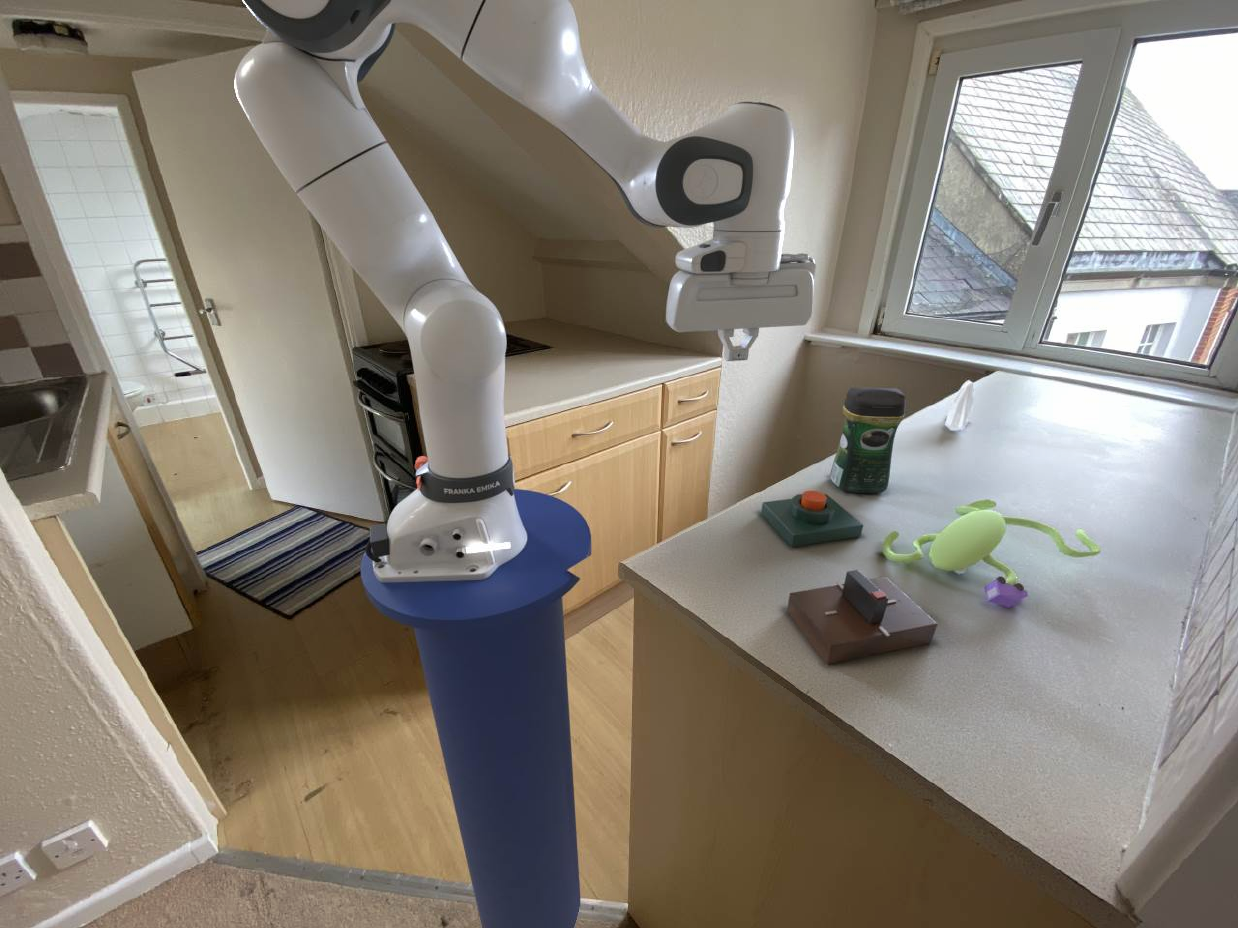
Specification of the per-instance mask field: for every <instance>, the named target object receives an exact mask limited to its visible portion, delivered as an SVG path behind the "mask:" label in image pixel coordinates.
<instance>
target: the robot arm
mask: <svg viewBox="0 0 1238 928" xmlns="http://www.w3.org/2000/svg"><path fill="white" fill-rule="evenodd" d="M241 1H242V3H243V4H244V5H245V7H246V8H247V9H248V11H250V13H251V14H252V15H253V16H254V18H256V20H257V21H259V22H260V24H261V25H262V26H263V27H264V28H265V29H266V33H265V35H264V38H263V39H262V41H261V43H260V44H257V45H256V46H254V47H253V48H250V50H249V51H248V52H247V53H246V54H245V55H244V56H243V57H242V59H241V60H240V62H239V64H238V66H237V68H236V70H235V75H234V84H233V85H234V90H235V94H236V98H237V100H238V101H239V104H240V106H241V108H242V110H243V111H244V113H245V115H246V118H247V119H248V121H249V123H250V125H251V127H252V128H253V130H254V133H256V135H257V137H258V139H259V141H260V142H261V143H262V145H263V147H264V148H265V150H266V152H267V153H268V155H269V156H270V158H271V159H272V161H273V162H274V164H275V166H276V167H277V168H278V170H279V172H280V173H281V175H282V176H283V178H284V179H285V180H286V181H287V183H288V184H289V186H290V187H291V189H293V191H294V193H297V194H296V195H297V196H298V197H299V200H300V201H301V202H302V203H303V204H304V206H305V207H306V208H307V209H308V211H309V212H310V213H311V215H312V217H314V219H315V220H316V222H317V223H318V224H319V226H320V227H321V228H322V229H323V231H324V232H325V234H326V235H327V236H328V237H329V239H330V240H331V241H332V243H333V244H334V246H335V247H336V248H337V249H338V251H339V252H340V254H341V255H342V256H343V257H344V258H345V260H346V262H347V263H348V264H349V265H350V267H352V269H353V270H354V271H355V272H356V274H357V275H358V276H359V277H360V278H361V279H362V281H364V283H365V284H366V285H367V287H368V288H369V289H370V290H371V292H372V293H373V294H374V296H375V297H376V298H377V299H378V300H379V301H380V303H381V304H382V305H383V307H385V310H387V311H388V313H389V314H390V315H391V317H392V318H393V319H394V321H396V323H397V324H398V326H399V327H400V328H401V330H402V332H403V333H404V335H405V337H406V339H407V343H408V345H409V350H410V355H411V361H412V368H413V375H414V380H415V386H416V387H415V388H416V394H417V401H418V408H419V409H418V410H419V418H420V423H421V427H422V434H423V439H424V445H425V450H426V455H425V456H424V455H421V456H418V457H416V460H415V464H414V469H415V482H416V489H415V490H414V491H412V492H411V493H410V494H409V495H407V496H406V497H405V498H403V499H402V500H401V501H399V502H398V503H397V504H396V506H394V508H393V509H392V511H391V513H390V515H389V517H388V520H387V523H386V522H383V523H379V524H375V525H374V524H373V525H370V526H369V539H368V542H367V544H366V546H365V551H364V553H365V552H366V554H367V556H368V557H369V558H370V559H371V560H373V570H374V574H375V576H376V578H377V579H378V580H379V581H380V582H385V583H389V582H426V581H461V580H483V579H486V578H487V577H489V576H490V575H491V574H492V573H493V572H494V571H495V570H496V569H497V568H498V567H499V566H500V565H502V564H504V563H505V562H507V561H509V560H511V559H512V558H514V557H515V556H516V555H518V554H519V553H520V552H521V551H522V549H523V548H524V547H525V545H526V542H527V532H526V530H525V528H524V526H523V524H522V521H521V519H520V516H519V512H518V509H517V505H516V502H515V497H514V491H515V489H516V480H515V479H516V478H515V469H514V464H513V461H512V460H513V459H512V456H511V454H510V452H509V449H508V440H507V439H508V438H507V429H506V420H505V419H506V418H505V408H504V404H505V403H504V399H505V398H504V397H505V382H506V381H505V380H506V352H507V332H506V328H505V324H504V321H503V318H502V315H501V314H500V312H499V310H498V308H497V306H496V305H495V304H494V303H493V302H492V301H491V300H490V299H489V298H488V297H487V296H485V295H484V294H483V293H481V292H480V291H479V290H477V288H476V286H474V285H473V284H472V282H471V281H470V279H469V277H468V276H467V274H466V273H465V271H464V269H463V267H462V266H461V264H460V262H459V260H458V259H457V257H456V255H455V253H454V252H453V250H452V248H451V246H450V244H449V243H448V241H447V239H446V237H445V236H444V234H443V232H442V230H441V228H440V226H439V224H438V222H437V221H436V218H435V217H434V214H433V213H432V211H431V210H430V208H429V206H428V205H427V203H426V202H425V200H424V199H423V197H422V195H421V194H420V192H419V190H418V188H417V187H416V185H415V184H414V183H413V181H412V179H411V178H410V176H409V174H408V173H407V171H406V170H405V168H404V166H403V165H402V163H401V162H400V160H399V157H397V155H396V154H395V152H394V150H393V149H392V148H391V146H390V144H389V143H388V142H387V139H386V138H385V136H384V135H383V133H382V131H381V130H380V128H379V127H378V125H377V124H376V122H375V121H374V119H373V117H372V115H371V113H370V112H369V111H368V108H367V107H366V105H365V102H364V100H363V98H362V97H361V94H360V91H359V87H358V83H361V82H362V81H364V79H365V78H366V76H367V75H368V73H369V72H370V71H371V69H372V68H373V66H375V64H376V62H377V61H378V60H379V59H380V57H381V56H382V55H383V54H384V52H385V51H386V50H387V48H388V46H389V45H390V42H391V41H392V38H393V36H394V34H395V30H396V25H397V23H404V24H405V23H406V24H410V25H413V26H414V27H415V26H416V27H417V28H420V29H421V30H423V31H425V32H426V33H428V34H429V35H431V37H433V38H434V39H436V40H437V41H438V42H439V43H441V45H443V46H444V47H445V48H447V49H448V50H449V51H450V52H451V53H452V54H454V55H455V56H456V57H457V58H458V59H459V60H460V61H462V62H463V63H464V64H465V65H466V66H468V68H470V69H471V70H472V71H474V72H475V74H477V75H479V76H480V77H482V79H484V80H486V81H487V82H488V83H490V84H491V85H492V86H493V87H495V88H497V89H498V90H499V91H500V92H503V93H504V94H505V95H507V96H508V97H510V98H511V99H512V100H514V101H516V102H518V103H519V104H521V105H523V106H524V107H526V108H527V109H529V110H530V111H532V112H534V113H535V114H536V115H538V116H539V117H540V118H542V119H544V120H545V121H547V122H548V123H550V124H551V125H553V126H554V127H555V128H556V129H557V130H559V131H560V133H562V134H563V135H564V136H565V137H566V138H568V139H569V140H570V141H571V143H573V144H574V145H575V146H577V147H578V149H580V150H581V151H582V152H583V153H584V154H585V155H586V156H588V158H589V159H591V160H592V161H593V162H594V163H595V164H596V165H597V166H598V167H599V168H601V170H603V171H604V172H605V173H606V174H607V176H609V178H610V179H611V181H613V182H614V184H615V186H616V187H617V189H618V191H619V194H620V195H621V198H622V199H623V201H624V204H625V205H626V207H627V209H628V210H629V212H630V213H631V215H632V216H633V217H634V218H635V219H636V220H637V221H638V222H640V223H641V224H643V225H645V226H647V227H650V228H655V229H660V228H661V229H662V228H667V227H668V228H669V227H670V228H683V229H693V228H698V227H702V226H704V225H707V224H711V223H712V224H713V230H712V238H711V239H709V240H706V241H703V242H701V243H699V244H698V243H697V244H696V245H693V246H691V247H688V248H685V249H682V250H679V251H678V252H677V253H676V255H675V266H676V267H677V269H679V270H678V271H677V272H675V274H674V275H673V276H672V278H671V280H670V283H669V288H668V293H667V300H666V309H665V310H666V311H665V321H666V323H667V325H668V326H669V328H671V329H672V330H673V331H675V332H677V333H691V332H709V331H717V335H718V338H719V339H720V342H721V344H722V346H723V347H724V350H723V360H725V361H726V362H736V361H737V362H738V361H739V362H741V361H748V358H749V352H750V348H751V347H752V346H753V344H754V343H755V341H756V340H757V339H758V337H759V333H760V329H762V328H778V327H779V328H780V327H781V328H783V327H797V326H798V327H799V326H800V327H801V326H806V325H807V324H808V323H809V322H810V320H811V318H812V316H813V308H814V291H815V289H814V281H815V278H816V271H817V264H816V262H815V259H813V258H812V257H810V256H809V254H808V253H803V252H802V253H795V254H793V253H783V245H784V237H785V228H786V226H785V225H786V224H785V223H786V222H785V218H784V216H785V215H784V214H785V212H784V211H785V206H786V202H787V199H788V196H789V194H790V190H791V184H792V183H791V182H792V173H793V163H794V146H795V145H794V141H795V140H794V139H795V138H794V137H795V136H794V127H793V121H792V119H791V117H790V115H789V113H787V112H786V111H785V110H784V109H783V108H781V107H779V106H777V105H774V104H771V103H767V102H760V101H758V102H755V101H740V102H737V103H733V104H732V105H730V106H729V108H727V110H726V111H724V113H722V114H721V115H720V116H719V117H717V118H715V119H714V120H712V121H710V122H708V123H707V124H704V125H703V126H701V127H699V128H698V129H697V128H696V129H695V130H692V131H690V132H688V133H685V134H683V135H680V136H678V137H675V138H672V139H670V140H667V141H662V140H657V139H654V138H651V137H649V136H647V135H645V134H644V133H643V132H642V131H640V130H639V129H638V128H637V126H635V124H634V123H633V122H632V121H631V120H630V119H629V118H628V117H626V115H625V114H624V113H622V111H621V110H620V109H619V108H618V107H617V106H616V105H615V104H614V103H613V102H612V101H611V100H610V99H609V98H608V97H607V96H606V94H605V93H603V92H602V91H601V90H600V89H599V87H598V85H596V83H595V82H594V80H593V78H592V76H591V74H590V72H589V71H588V68H587V65H586V62H585V59H584V55H583V51H582V46H581V45H582V44H581V40H580V32H579V31H580V30H579V25H578V20H577V17H576V13H575V9H574V7H573V5H572V3H571V2H570V0H241ZM735 330H742V334H744V336H743V338H742V339H741V342H740V343H739V345H734V344H733V342H732V340H731V338H734V336H735ZM371 548H372V551H373V553H372V551H371Z"/></svg>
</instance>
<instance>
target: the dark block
mask: <svg viewBox="0 0 1238 928" xmlns="http://www.w3.org/2000/svg"><path fill="white" fill-rule="evenodd" d="M843 584H844V587H843V591H842V595H843V596H844V597H845V598H846V599H847V600H848V601H849V602H850V603H851V604H852V605H853V606H854V607H855V608H856V609H857V610H858V611H859V612H860V613H861V615H862V616H863V617H864V618H865V619H866V620H867V621H868V622H869V623H870V624H873V623H878V622H882V620H883V617H884V613H885V610H886V606H887V603H888V597H887V595H885V594H884V593H883V592H882V591H880V590H879V589H878V588H877V587H876V586H875V585H874V584H873V583H872V582H871V581H870V580H869V578H867V576H865V574H864V573H863V572H861V571H860V569H854V570H849V571H846V575H845V578H844V583H843Z"/></svg>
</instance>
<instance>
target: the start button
mask: <svg viewBox="0 0 1238 928" xmlns="http://www.w3.org/2000/svg"><path fill="white" fill-rule="evenodd" d="M802 494H803V495H802V500H801V505H802V506H803V507H805V508H807V509H809V510H816V511H818V510H823V509H824V508H825V503H826V496H825V495H824V494H825V493H822V492H820V491H818V490H806V491H804V492H803V493H802Z"/></svg>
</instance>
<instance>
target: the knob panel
mask: <svg viewBox="0 0 1238 928" xmlns="http://www.w3.org/2000/svg"><path fill="white" fill-rule="evenodd" d="M868 579H869V578H868ZM869 580H870V581H871V582H872V583H873V584H874V585H875V586H876V587H877V588H878V589H879V590H880V591H882V592H883V593H884V594H885V595H887V597H888V603H887V606H886V610H885V613H884V617H883V620H882V622H878V623H873V624H870V623H869V622H868V621H867V620H866V619H865V618H864V617H863V616H862V615H861V613H860V612H859V611H858V610H857V609H856V608H855V607H854V606H853V605H852V604H851V603H850V602H849V601H848V600H847V599H846V598H845V597H844V596H843V595H842V591H843V587H844V583H841V582H840V581H836V582H835V583H836V584H835V585H829V586H824V587H818V588H811V589H806V590H805V589H804V590H801V591H793V592H790V593H789V597H788V602H787V606H786V607H787V608H786V613H787V614H788V615H789V616H790V618H791V620H793V622H795V624H796V626H797V627H798V628H799V630H800V631H801V632H802V634H803V635H804V636H805V638H806V639H807V640H808V642H809V643H810V644H811V645H812V646H813V648H814V649H815V651H816V652H817V653H818V655H819V656H820V657H821V658H822V660H823V661H824V662H825V664H826V665H830V664H836V663H840V662H845V661H849V660H854V659H859V658H864V657H869V656H874V655H878V654H883V653H889V652H892V651H898V650H902V649H907V648H908V649H909V648H912V647H917V646H921V645H926V644H930V643H932V641H933V638H934V636H935V633H936V630H937V628H938V622H936V621H935V620H934V619H933V618H932V616H930V615H929V614H928V613H926V612H925V611H924V610H923V609H922V608H921V607H920V606H919V605H918V604H917V603H915V601H914V600H912V599H911V598H910V597H909V596H908V595H907V594H906V593H905V592H903V591H902V589H900V588H899V587H898V586H897V585H896V584H895V583H894V582H893V581H892V580H890V579H889V578H888V576H880V577H876V578H870V579H869Z"/></svg>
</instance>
